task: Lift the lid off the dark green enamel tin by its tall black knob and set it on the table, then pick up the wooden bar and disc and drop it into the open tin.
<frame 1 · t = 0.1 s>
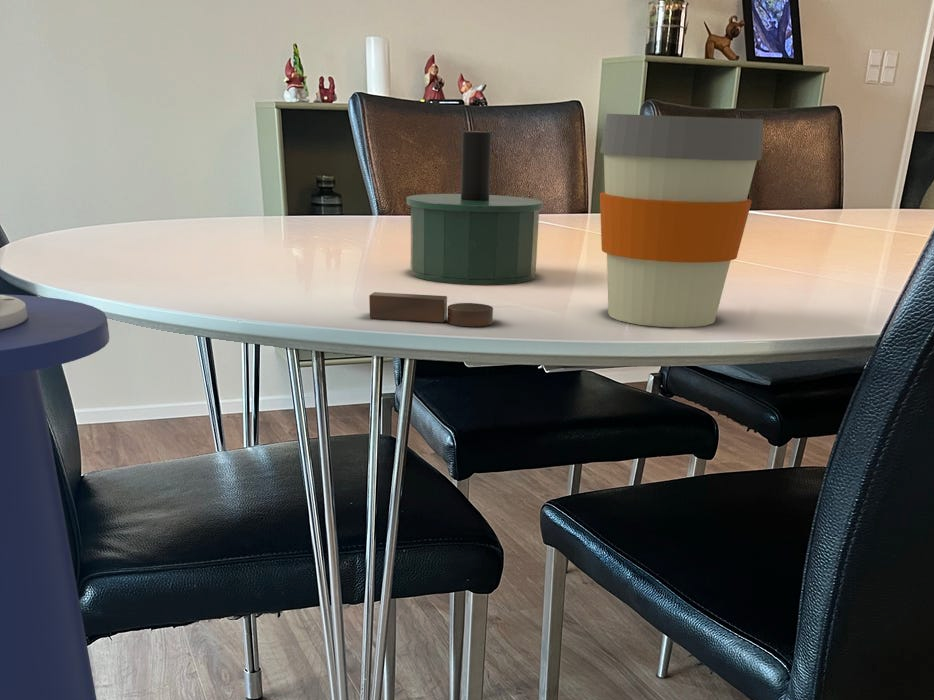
lid: (474, 206, 99), point 6 cm above the table, touching tin
wooden bar and disc: (439, 320, 79), on the table
reusable coffee cup: (661, 319, 84), on the table
tin: (472, 274, 102), on the table
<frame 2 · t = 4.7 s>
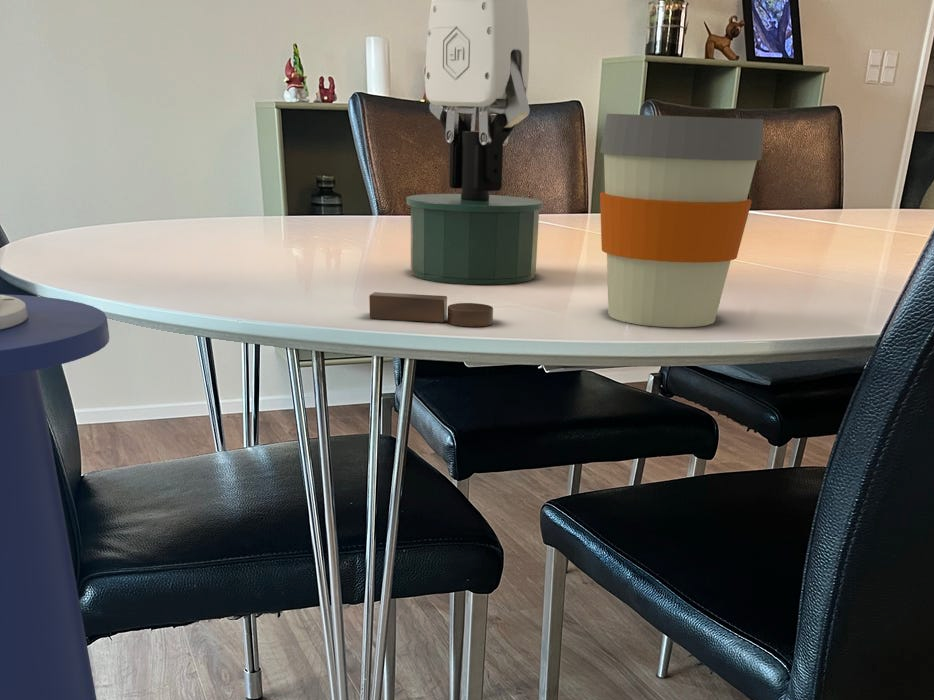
hand: (475, 187, 98), 8 cm above the table, tool pointing down, fingers closed on lid, 2 cm apart
lid: (474, 206, 99), point 7 cm above the table, touching gripper, tin
everything else where it was.
when the fingers open (2 cm above the table, at t = 12.4 s): lid stays where it is, point 1 cm above the table.
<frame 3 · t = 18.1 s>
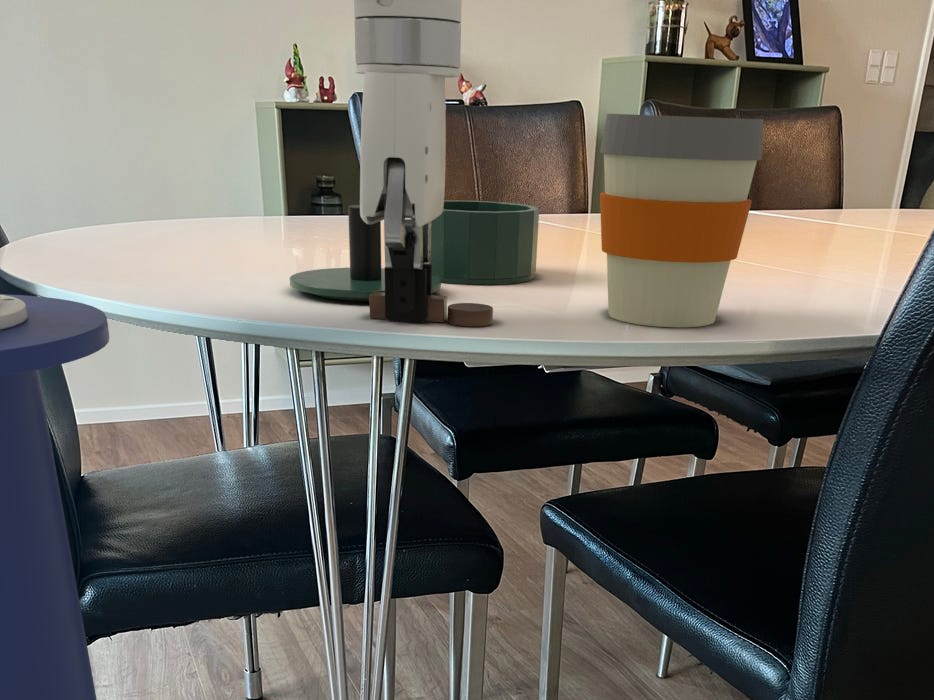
hand: (408, 317, 80), 0 cm above the table, tool pointing down, fingers closed on wooden bar and disc, 1 cm apart
lid: (366, 285, 90), point 1 cm above the table
wooden bar and disc: (439, 320, 79), on the table, touching gripper
everything else where it was.
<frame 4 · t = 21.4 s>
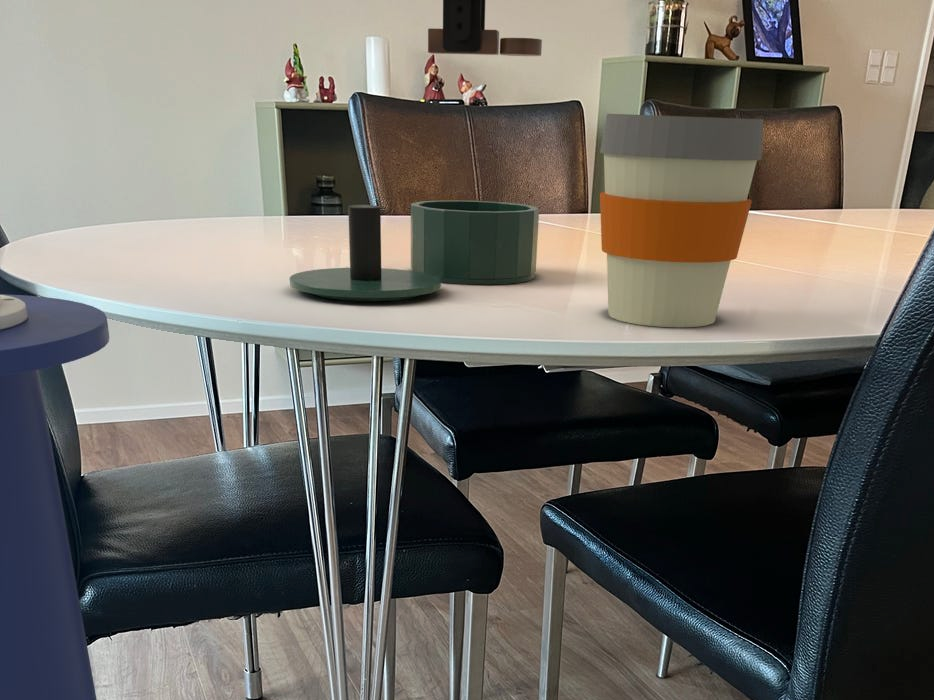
hand: (463, 50, 86), 19 cm above the table, tool pointing down, fingers closed on wooden bar and disc, 1 cm apart
wooden bar and disc: (491, 54, 86), point 19 cm above the table, touching gripper
everything else where it was.
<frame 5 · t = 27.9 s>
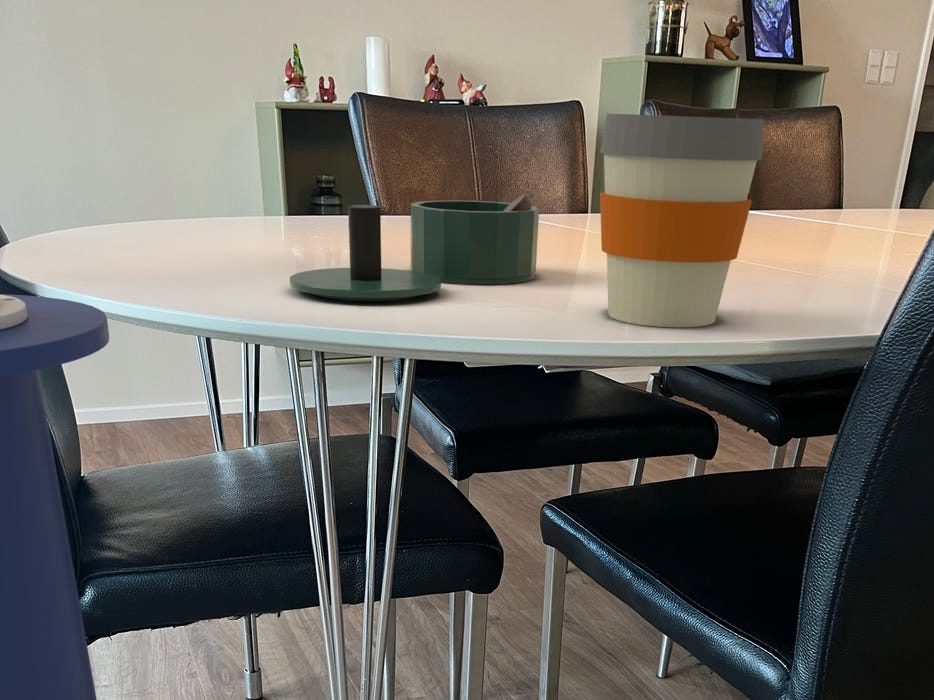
wooden bar and disc: (500, 231, 101), point 4 cm above the table, tilted 41°, touching tin
everything else where it was.
at the end: lid point 0.6 cm above the table; wooden bar and disc inside the target area in the tin (2.9 cm from its centre), point 4.1 cm above the tin's base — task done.
